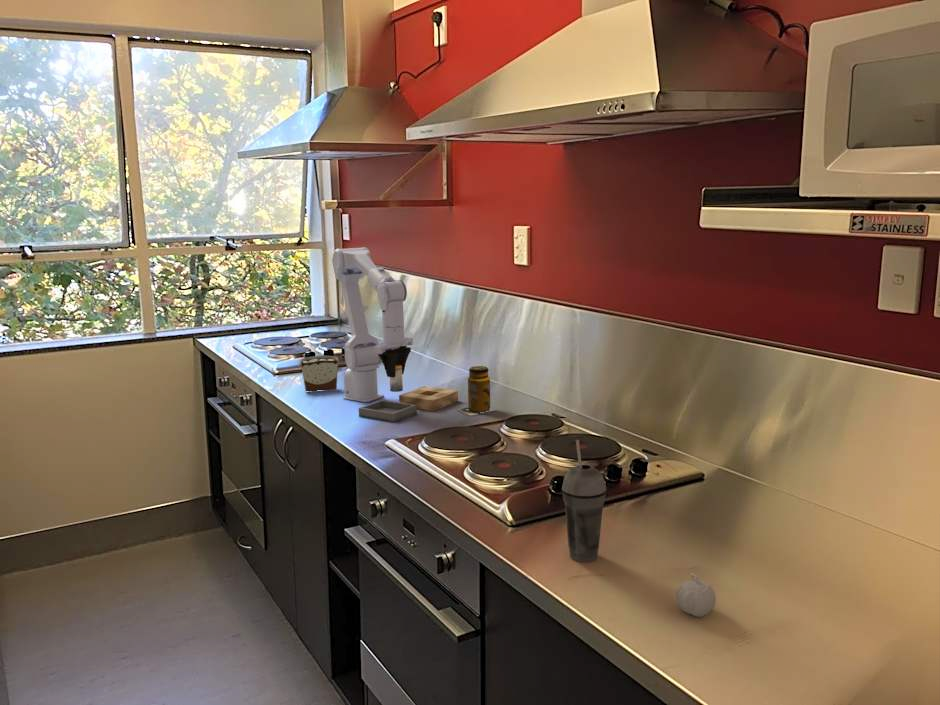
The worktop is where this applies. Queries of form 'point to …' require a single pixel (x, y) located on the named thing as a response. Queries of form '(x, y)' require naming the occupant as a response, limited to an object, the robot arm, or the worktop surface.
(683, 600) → the garlic
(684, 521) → the worktop surface
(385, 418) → the tray
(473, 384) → the condiment
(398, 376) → the small glass vial
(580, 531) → the beverage cup
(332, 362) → the food container
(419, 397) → the socket block
